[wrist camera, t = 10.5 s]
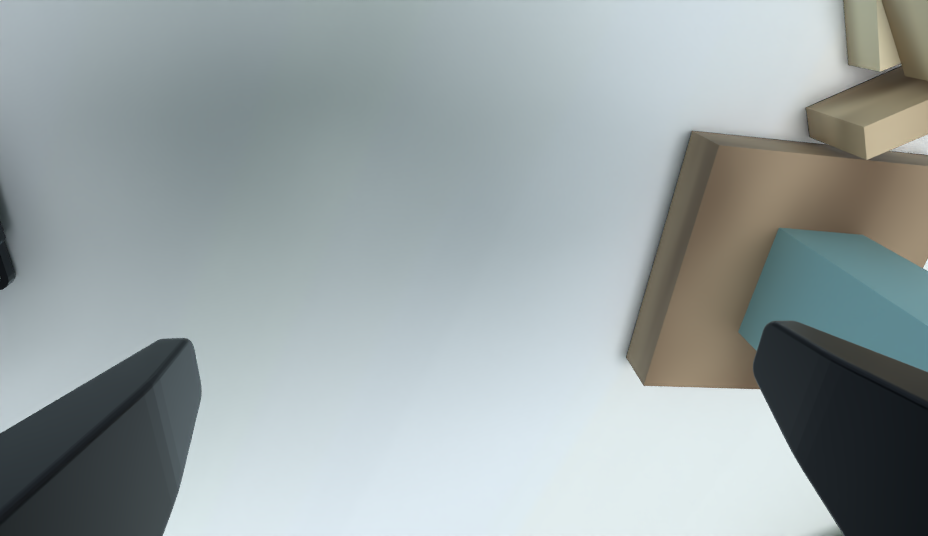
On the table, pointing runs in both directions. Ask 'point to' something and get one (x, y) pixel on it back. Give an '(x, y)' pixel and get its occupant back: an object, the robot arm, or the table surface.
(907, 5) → the offcut top
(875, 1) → the offcut low
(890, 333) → the teal block
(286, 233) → the table surface
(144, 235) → the table surface
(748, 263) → the base block
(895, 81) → the frame
